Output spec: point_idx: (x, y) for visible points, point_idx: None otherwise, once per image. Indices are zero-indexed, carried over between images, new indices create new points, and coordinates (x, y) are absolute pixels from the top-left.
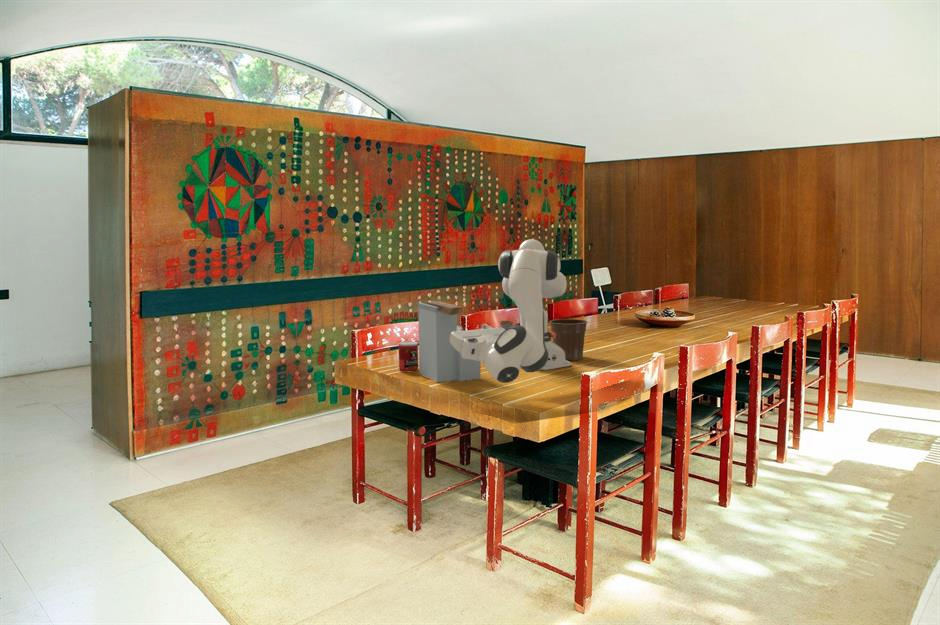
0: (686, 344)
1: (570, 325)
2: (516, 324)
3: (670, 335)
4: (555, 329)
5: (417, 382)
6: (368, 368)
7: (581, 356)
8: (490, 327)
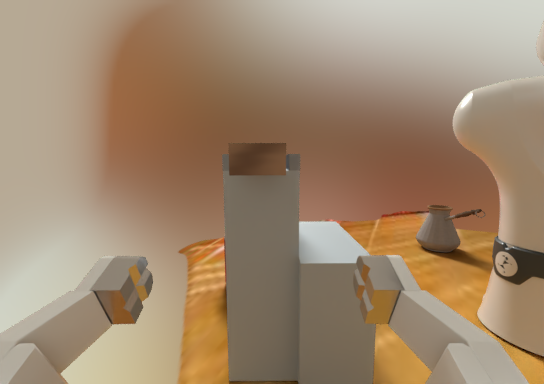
0: None
1: None
2: (461, 213)
3: None
4: None
5: (188, 359)
6: (196, 264)
7: None
8: (462, 333)
